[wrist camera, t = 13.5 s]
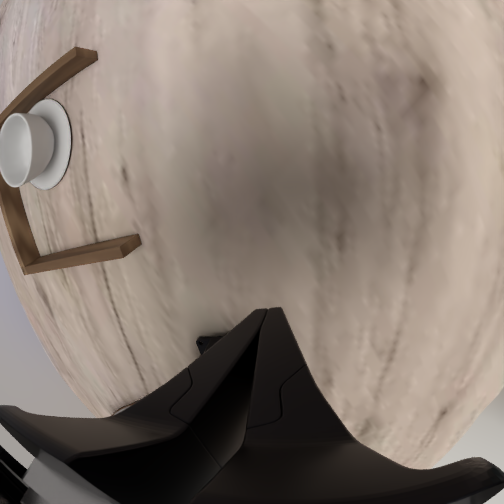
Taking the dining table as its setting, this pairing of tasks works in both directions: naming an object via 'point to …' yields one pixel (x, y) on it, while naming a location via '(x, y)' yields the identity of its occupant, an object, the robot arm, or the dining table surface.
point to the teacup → (35, 146)
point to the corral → (11, 196)
